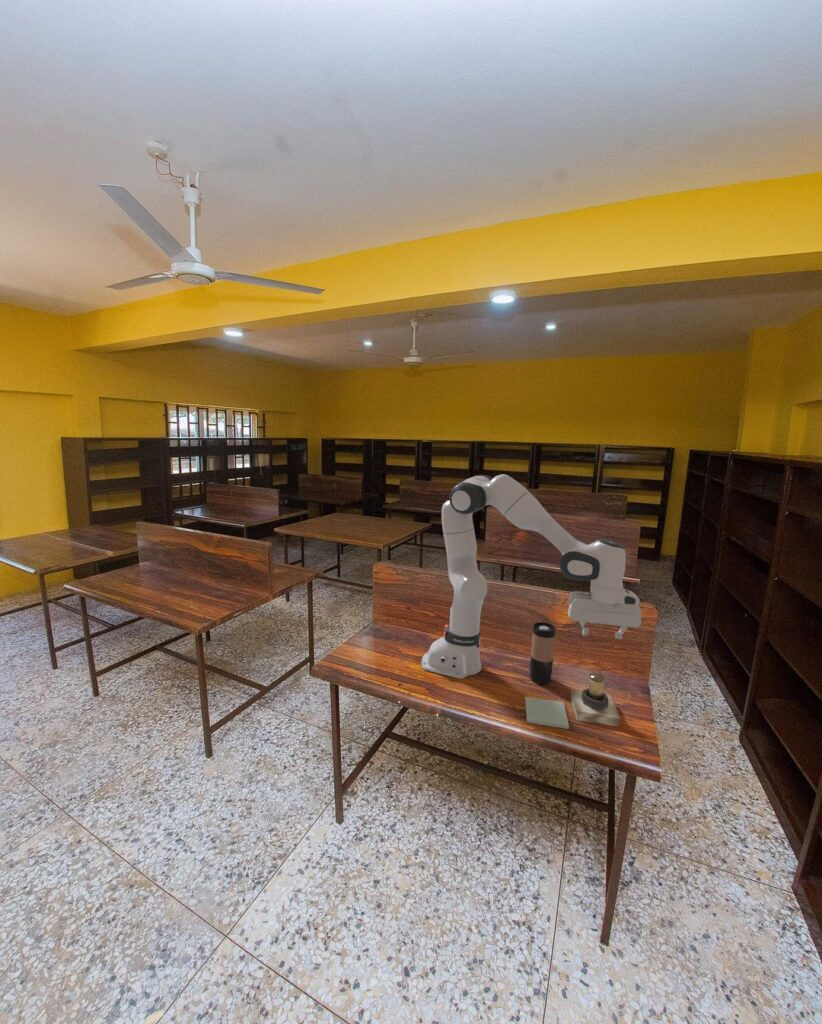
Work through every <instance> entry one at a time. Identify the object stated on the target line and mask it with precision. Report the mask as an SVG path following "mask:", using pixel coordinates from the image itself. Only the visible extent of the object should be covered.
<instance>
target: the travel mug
mask: <svg viewBox="0 0 822 1024" xmlns="http://www.w3.org/2000/svg"><path fill="white" fill-rule="evenodd" d="M531 637H532V639H531V649H530V666H529V678H530V679H529V680H530V681H531V682H533V683H534V684H536V685H540V686H541V685H542V686H545V685H549V684H550V683H551V681H552V673H553V665H554V664H553V663H554V655H555V643H556V642H555V641H556V627H555V625H553V624H551V623H548V622H541V621H540V622H535V623H533V627H532V636H531Z"/></svg>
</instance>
